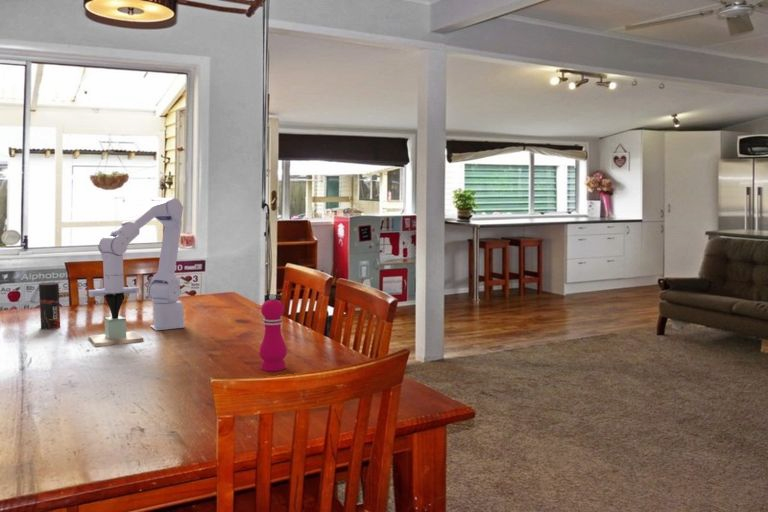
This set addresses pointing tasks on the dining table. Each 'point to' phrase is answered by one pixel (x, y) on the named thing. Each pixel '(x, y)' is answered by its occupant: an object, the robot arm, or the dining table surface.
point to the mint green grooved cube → (115, 327)
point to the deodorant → (49, 305)
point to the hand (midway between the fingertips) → (115, 317)
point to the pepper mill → (272, 336)
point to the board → (102, 340)
